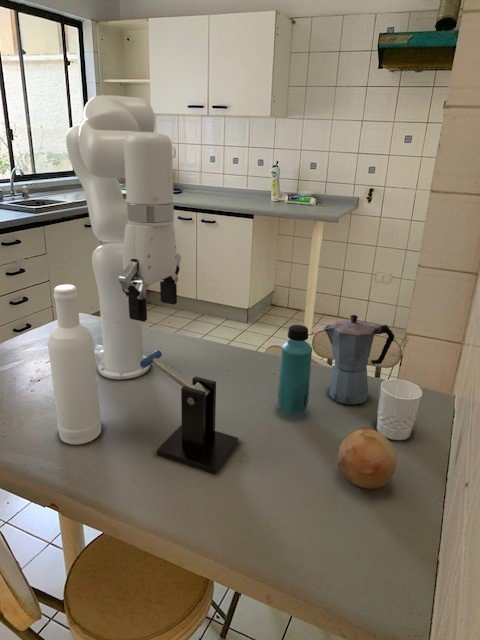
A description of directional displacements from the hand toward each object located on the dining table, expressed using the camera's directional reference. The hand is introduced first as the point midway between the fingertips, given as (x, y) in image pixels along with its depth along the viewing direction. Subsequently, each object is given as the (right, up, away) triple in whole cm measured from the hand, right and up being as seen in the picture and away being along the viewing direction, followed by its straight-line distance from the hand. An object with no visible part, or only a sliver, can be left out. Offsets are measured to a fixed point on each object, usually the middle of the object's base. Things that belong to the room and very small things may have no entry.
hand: (154, 311), depth 82 cm
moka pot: (+41, -19, +25) cm, 52 cm away
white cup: (+47, -25, +13) cm, 55 cm away
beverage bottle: (+26, -22, +18) cm, 39 cm away
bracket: (+7, -26, +5) cm, 28 cm away
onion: (+37, -30, -1) cm, 48 cm away
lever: (+3, -13, +2) cm, 13 cm away
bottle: (-16, -24, +8) cm, 30 cm away
